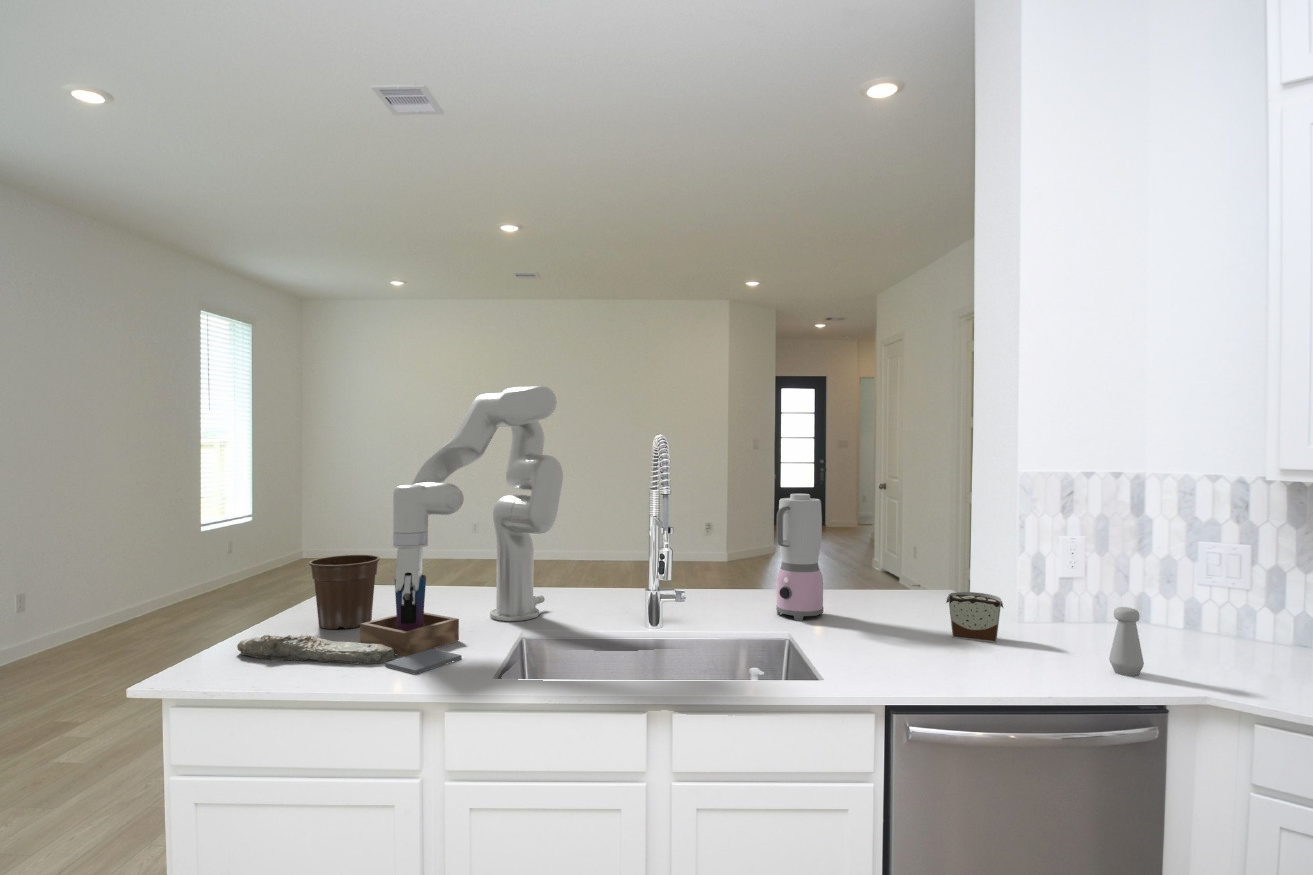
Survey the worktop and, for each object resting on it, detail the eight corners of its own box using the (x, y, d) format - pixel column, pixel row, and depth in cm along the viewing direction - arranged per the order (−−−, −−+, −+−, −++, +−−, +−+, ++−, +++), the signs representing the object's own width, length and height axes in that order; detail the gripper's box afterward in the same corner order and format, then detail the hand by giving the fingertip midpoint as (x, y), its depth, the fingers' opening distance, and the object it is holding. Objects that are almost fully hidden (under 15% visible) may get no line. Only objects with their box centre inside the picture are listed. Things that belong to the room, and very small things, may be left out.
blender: (795, 607, 202) (795, 491, 202) (833, 615, 193) (833, 494, 193) (758, 616, 192) (759, 494, 192) (796, 625, 183) (797, 497, 183)
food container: (1003, 636, 173) (1003, 594, 173) (1003, 643, 168) (1003, 599, 168) (947, 630, 178) (947, 589, 178) (945, 636, 173) (946, 594, 173)
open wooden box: (414, 631, 175) (414, 610, 175) (458, 640, 167) (458, 618, 167) (360, 646, 163) (360, 623, 163) (405, 657, 155) (405, 633, 155)
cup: (415, 648, 161) (416, 580, 161) (387, 646, 162) (388, 579, 162) (431, 640, 168) (431, 574, 168) (404, 638, 169) (404, 573, 169)
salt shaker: (1102, 668, 149) (1102, 605, 149) (1129, 668, 149) (1129, 604, 149) (1123, 678, 143) (1123, 611, 143) (1150, 677, 144) (1150, 611, 144)
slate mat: (432, 652, 158) (432, 648, 158) (461, 658, 154) (461, 655, 154) (385, 666, 148) (385, 662, 148) (415, 674, 143) (415, 670, 143)
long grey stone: (378, 676, 147) (402, 664, 157) (380, 649, 148) (404, 639, 157) (222, 657, 153) (255, 647, 162) (225, 632, 153) (258, 623, 163)
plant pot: (293, 628, 178) (293, 561, 178) (344, 613, 193) (344, 552, 193) (344, 635, 172) (345, 566, 172) (393, 619, 187) (393, 556, 187)
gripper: (397, 535, 173) (397, 611, 173) (388, 545, 156) (387, 629, 156) (430, 534, 174) (430, 609, 174) (424, 544, 158) (424, 628, 157)
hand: (410, 618), depth 165 cm, fingers closed on cup, 6 cm apart
